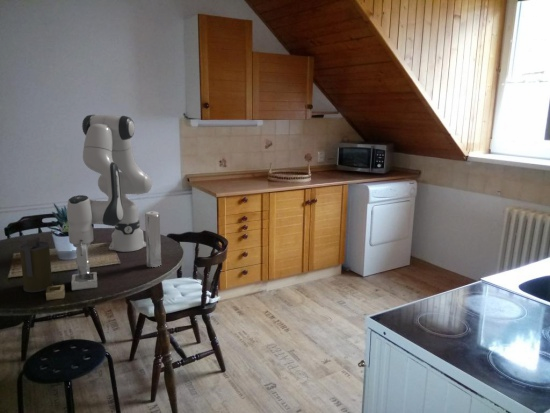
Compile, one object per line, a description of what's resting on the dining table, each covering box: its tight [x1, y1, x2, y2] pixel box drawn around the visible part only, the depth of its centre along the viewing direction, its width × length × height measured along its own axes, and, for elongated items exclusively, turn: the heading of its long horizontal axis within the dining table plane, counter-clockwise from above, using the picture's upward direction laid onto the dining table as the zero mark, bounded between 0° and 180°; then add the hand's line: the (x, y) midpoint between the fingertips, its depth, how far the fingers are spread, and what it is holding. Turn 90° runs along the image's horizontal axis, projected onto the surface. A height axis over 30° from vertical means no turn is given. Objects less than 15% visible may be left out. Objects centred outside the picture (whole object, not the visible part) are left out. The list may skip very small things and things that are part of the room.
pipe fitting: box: [76, 258, 91, 279], centre depth 171 cm, size 5×5×7 cm
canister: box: [18, 236, 54, 293], centre depth 166 cm, size 11×10×20 cm
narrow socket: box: [45, 284, 66, 301], centre depth 161 cm, size 6×6×3 cm
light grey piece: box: [144, 210, 162, 268], centre depth 192 cm, size 6×6×25 cm
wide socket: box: [71, 271, 98, 291], centre depth 172 cm, size 9×9×3 cm
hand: (83, 269), depth 171 cm, fingers closed on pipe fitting, 4 cm apart
